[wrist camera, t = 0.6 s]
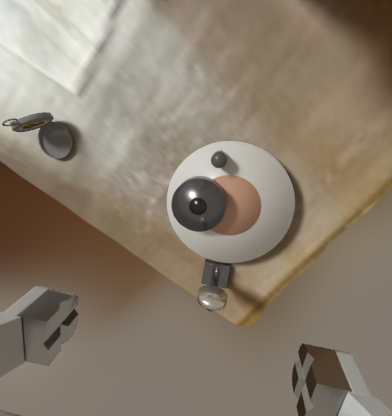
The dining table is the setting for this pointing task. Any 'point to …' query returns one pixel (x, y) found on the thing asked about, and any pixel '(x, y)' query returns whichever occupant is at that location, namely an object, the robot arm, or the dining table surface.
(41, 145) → the pocket watch
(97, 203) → the dining table surface
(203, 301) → the dial gauge stand
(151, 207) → the dining table surface
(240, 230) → the turntable
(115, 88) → the dining table surface
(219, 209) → the cover
